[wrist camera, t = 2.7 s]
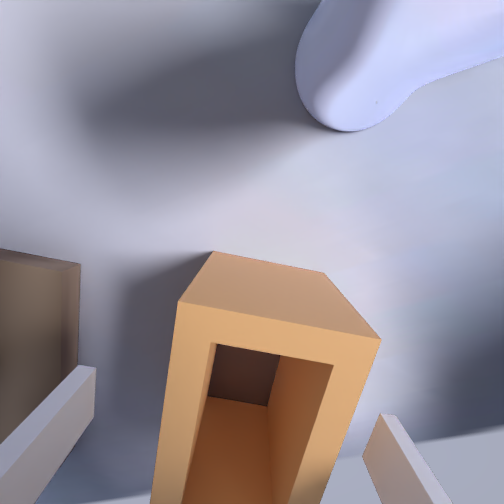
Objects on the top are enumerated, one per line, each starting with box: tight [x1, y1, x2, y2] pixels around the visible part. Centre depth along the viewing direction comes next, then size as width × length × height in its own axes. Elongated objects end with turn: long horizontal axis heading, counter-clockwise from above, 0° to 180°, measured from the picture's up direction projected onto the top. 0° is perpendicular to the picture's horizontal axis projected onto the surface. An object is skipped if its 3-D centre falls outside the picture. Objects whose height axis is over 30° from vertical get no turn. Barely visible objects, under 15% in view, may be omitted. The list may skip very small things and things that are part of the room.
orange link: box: [150, 251, 381, 504], centre depth 13 cm, size 12×7×7 cm, turn 169°
